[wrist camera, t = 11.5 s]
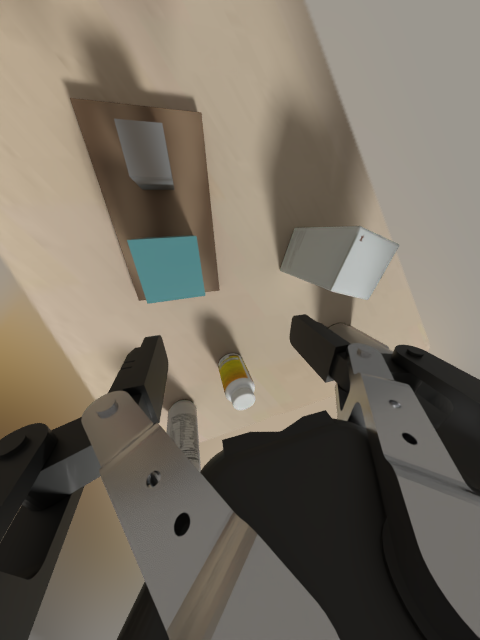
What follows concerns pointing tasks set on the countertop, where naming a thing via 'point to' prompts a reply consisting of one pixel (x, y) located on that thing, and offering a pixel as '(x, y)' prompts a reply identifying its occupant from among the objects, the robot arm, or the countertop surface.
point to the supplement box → (339, 258)
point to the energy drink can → (185, 429)
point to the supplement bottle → (236, 381)
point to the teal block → (168, 267)
